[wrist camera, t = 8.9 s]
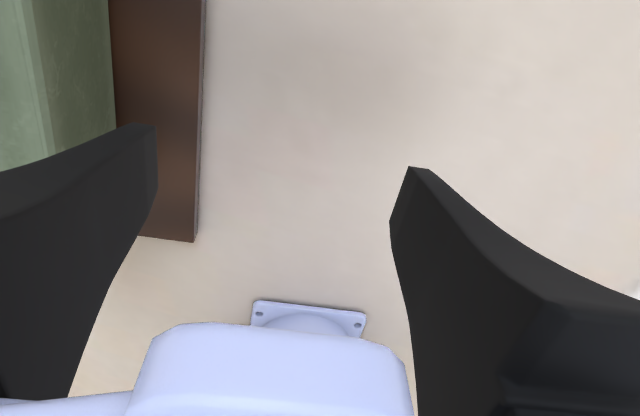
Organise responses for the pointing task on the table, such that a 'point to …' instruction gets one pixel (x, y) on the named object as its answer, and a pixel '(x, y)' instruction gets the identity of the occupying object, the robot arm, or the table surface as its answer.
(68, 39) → the handheld radio
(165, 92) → the walnut board
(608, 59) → the table surface
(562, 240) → the table surface
